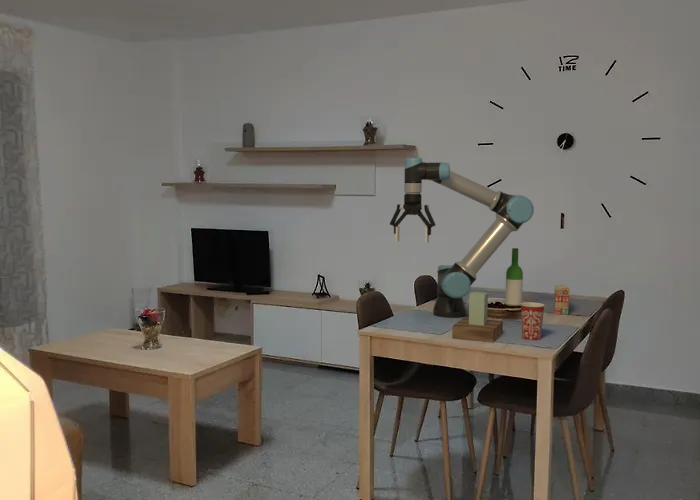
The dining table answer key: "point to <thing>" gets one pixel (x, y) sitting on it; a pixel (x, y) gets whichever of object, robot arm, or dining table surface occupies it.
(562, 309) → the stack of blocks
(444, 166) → the robot arm
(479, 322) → the green block
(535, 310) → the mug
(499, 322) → the walnut riser
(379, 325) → the dining table surface
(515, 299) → the wine bottle
